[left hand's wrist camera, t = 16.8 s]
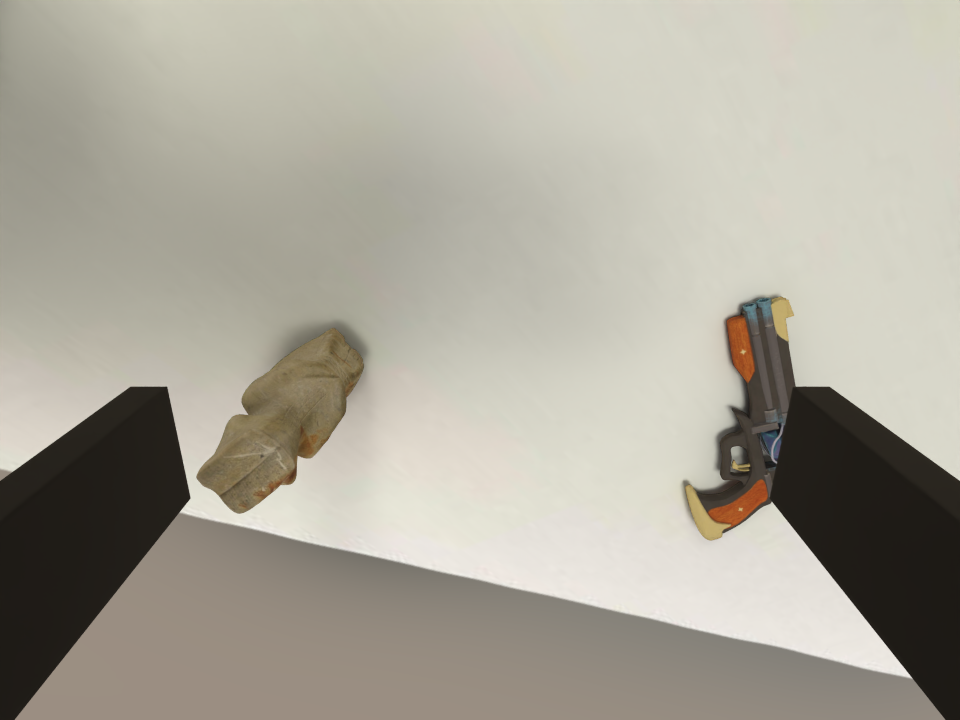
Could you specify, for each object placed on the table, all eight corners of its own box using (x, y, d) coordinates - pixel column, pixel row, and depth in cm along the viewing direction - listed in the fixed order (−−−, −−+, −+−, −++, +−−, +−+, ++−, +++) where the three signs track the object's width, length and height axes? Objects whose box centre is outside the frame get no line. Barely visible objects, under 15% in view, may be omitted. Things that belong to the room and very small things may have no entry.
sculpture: (262, 359, 44) (161, 463, 30) (335, 306, 43) (265, 390, 29) (312, 416, 46) (239, 539, 32) (384, 367, 44) (341, 474, 30)
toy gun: (701, 550, 48) (833, 528, 45) (649, 335, 42) (795, 297, 40) (694, 530, 50) (819, 508, 48) (644, 324, 45) (781, 289, 43)
